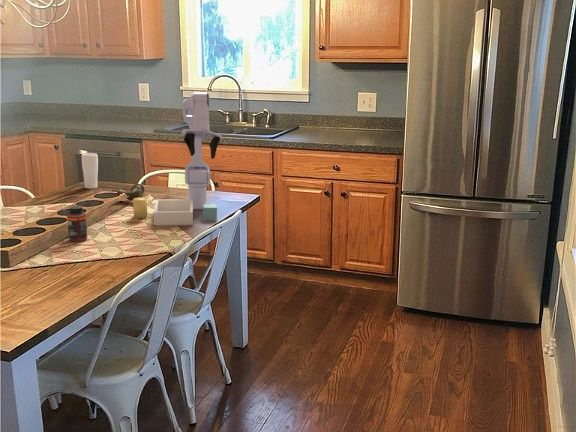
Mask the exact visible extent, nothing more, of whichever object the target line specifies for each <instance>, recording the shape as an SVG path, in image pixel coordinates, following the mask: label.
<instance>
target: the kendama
mask: <svg viewBox="0 0 576 432" xmlns="http://www.w3.org/2000/svg"><path fill="white" fill-rule="evenodd" d="M122 193H125V194H127V198H126V199H128V200H127V201H133V199H134V198H144V197H143V196H144V195H143V194H144V193H145V186H144V185H143V184H141V183H134V184H133V186H131V188H130V190H129V191H126V190H124V189H121V188H118V190H117V192H116V195H117V194H122Z"/></svg>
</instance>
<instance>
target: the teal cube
mask: <svg viewBox="0 0 576 432" xmlns="http://www.w3.org/2000/svg"><path fill="white" fill-rule="evenodd" d="M202 210H203V211H202V212H203V213H202V215H203V221H217V220H218V206H217V204H216V203H212V204H211V203H207V204H203V209H202Z"/></svg>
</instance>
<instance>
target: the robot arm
mask: <svg viewBox="0 0 576 432" xmlns="http://www.w3.org/2000/svg"><path fill="white" fill-rule="evenodd" d="M209 108H210V94H209V92H202V91H196V92H193V93H190V97H187V98H185V99H184V100H183V101H182V115H183V121H184V123H185V124H187V125H188V128H183V129H182V130H181V137H183V142H184V143H185V145H186V146H187V148H188V150H189V151H188V152H189V154H190V156H191V157H190V158H191V160H190V161H189V162H188V163H186V165H185V166H184V167H185V168H184V183H185V185H187V186H188V188H187V190H188V193H187V194H188V196H187V200H193V210H203V204H208V202H207V197H208V196H207V188H208V186H209V185H210V183H211V170H210V166H209V164H208V163H207V162H206V161H203V150H202V148H203V147H202V146H203V145H202V140H210V143H208V145H209V149H210V158H211V160H213V159H215V157H216V153H217V149H218V145H219V144H220V142H221V141H222V140H223V138H222V137H223V136H222V134H219V133H216V132H215V131H214V132H213V131H211V130H210V129H211V128H210V116H209V114H210V111H209Z"/></svg>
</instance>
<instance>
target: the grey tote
mask: <svg viewBox="0 0 576 432" xmlns="http://www.w3.org/2000/svg"><path fill="white" fill-rule="evenodd" d="M154 202H155V203H154V209H153V226H154V225H156V226H157V225H158V227H159V226H194V209H193V200H188V199H155V201H154Z"/></svg>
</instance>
